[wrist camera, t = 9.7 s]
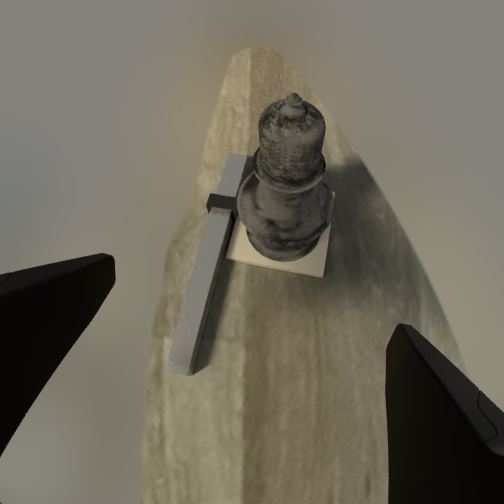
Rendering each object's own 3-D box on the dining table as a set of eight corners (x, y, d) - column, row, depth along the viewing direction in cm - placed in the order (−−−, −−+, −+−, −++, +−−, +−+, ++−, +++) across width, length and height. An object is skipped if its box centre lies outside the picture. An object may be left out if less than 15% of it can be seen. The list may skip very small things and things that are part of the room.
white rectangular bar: (195, 376, 19) (188, 377, 18) (168, 368, 20) (159, 368, 18) (251, 166, 25) (250, 152, 23) (228, 163, 25) (225, 148, 23)
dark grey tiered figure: (326, 268, 21) (381, 158, 10) (238, 264, 21) (205, 148, 10) (324, 192, 23) (358, 59, 12) (245, 188, 23) (227, 52, 12)
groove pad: (322, 277, 21) (323, 276, 21) (226, 259, 22) (226, 257, 22) (333, 194, 23) (334, 192, 23) (248, 179, 24) (248, 176, 24)
